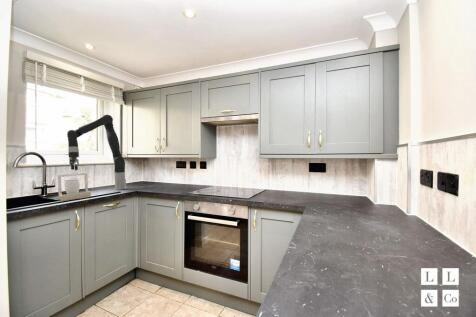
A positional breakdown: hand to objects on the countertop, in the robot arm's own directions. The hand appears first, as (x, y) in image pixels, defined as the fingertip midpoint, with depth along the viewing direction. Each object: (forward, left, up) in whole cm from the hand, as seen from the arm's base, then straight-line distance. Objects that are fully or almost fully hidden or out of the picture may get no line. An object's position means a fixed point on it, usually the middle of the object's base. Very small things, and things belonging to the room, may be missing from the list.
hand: (74, 169), depth 192 cm
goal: (-6, +16, -23) cm, 28 cm away
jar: (+1, +4, -23) cm, 23 cm away
